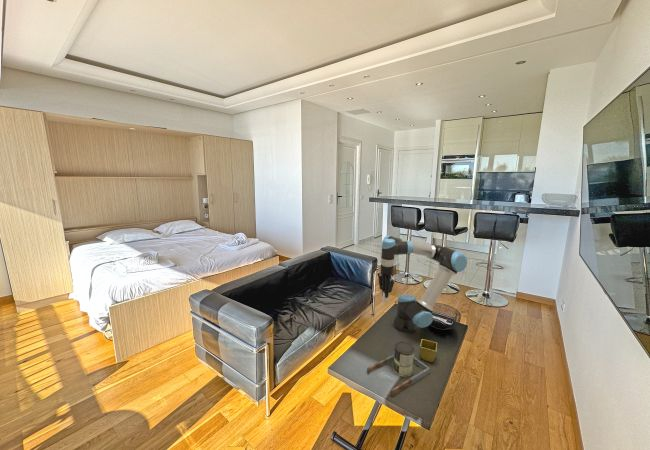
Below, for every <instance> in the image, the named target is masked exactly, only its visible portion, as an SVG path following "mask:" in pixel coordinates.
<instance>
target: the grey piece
mask: <svg viewBox="0 0 650 450" xmlns="http://www.w3.org/2000/svg"><path fill="white" fill-rule="evenodd" d="M385 359H387V364H386V365H388V364H390V363H392V362H394V354H391V355H389V356H388V357H386V358H385ZM413 364H415V365H416V366H418V367H419V368H420V369H422V370H421V371H420V372H418V373H417V374H415V375H413V376H412V377H410V378H409V379H411V380H412V381H411V385H413V384H415V383H416V382H418V381H420V380H421V379H423V378H424V377H426V376H428V375H429V374H430V372H431V368H430V367H429V366H427V365H426V364H425V363H424V362H422V361H420V359H418V358H417V357H415V356H414V358H413ZM411 385H410V386H411Z"/></svg>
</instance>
